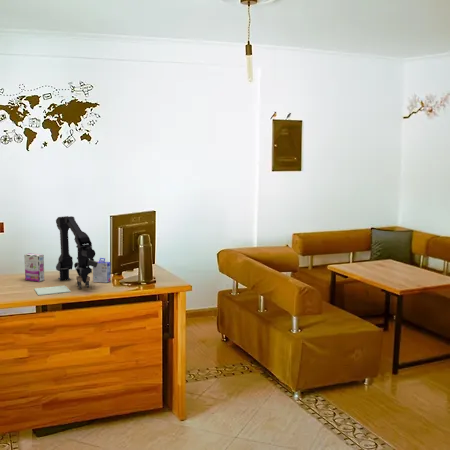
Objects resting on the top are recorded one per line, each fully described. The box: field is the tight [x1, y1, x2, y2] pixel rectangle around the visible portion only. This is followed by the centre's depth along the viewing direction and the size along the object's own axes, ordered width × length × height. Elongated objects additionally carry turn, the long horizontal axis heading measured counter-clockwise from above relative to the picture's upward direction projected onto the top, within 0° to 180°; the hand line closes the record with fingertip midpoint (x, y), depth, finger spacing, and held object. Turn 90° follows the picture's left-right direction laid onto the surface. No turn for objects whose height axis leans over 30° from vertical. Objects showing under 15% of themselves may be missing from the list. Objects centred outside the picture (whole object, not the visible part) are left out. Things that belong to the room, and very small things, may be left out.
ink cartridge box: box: [92, 257, 112, 283], centre depth 364 cm, size 10×6×14 cm, turn 78°
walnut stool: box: [75, 275, 91, 289], centre depth 349 cm, size 6×6×6 cm
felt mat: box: [33, 285, 72, 297], centre depth 342 cm, size 14×18×1 cm
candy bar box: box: [23, 253, 45, 283], centre depth 364 cm, size 11×5×16 cm, turn 68°
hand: (83, 281), depth 349 cm, fingers closed on walnut stool, 6 cm apart
